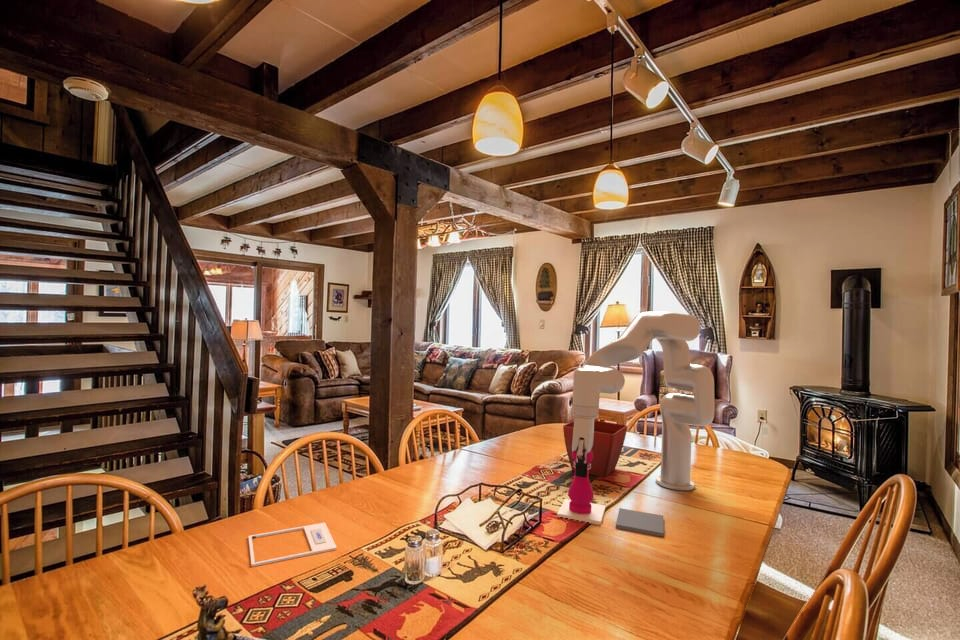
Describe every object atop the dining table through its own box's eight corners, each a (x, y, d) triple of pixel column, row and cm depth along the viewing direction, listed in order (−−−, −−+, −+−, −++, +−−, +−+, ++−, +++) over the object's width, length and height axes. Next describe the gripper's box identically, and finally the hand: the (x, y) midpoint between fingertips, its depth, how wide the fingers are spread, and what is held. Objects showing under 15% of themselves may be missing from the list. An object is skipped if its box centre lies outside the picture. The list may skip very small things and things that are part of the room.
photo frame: (336, 546, 109) (251, 563, 101) (336, 551, 109) (251, 568, 101) (324, 521, 122) (248, 535, 113) (324, 526, 122) (248, 539, 113)
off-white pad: (565, 501, 143) (565, 498, 143) (605, 509, 138) (605, 505, 138) (557, 517, 132) (557, 513, 132) (600, 525, 127) (600, 521, 127)
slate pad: (619, 511, 137) (619, 508, 137) (663, 519, 133) (663, 515, 133) (615, 527, 126) (615, 524, 126) (663, 536, 121) (663, 533, 121)
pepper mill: (593, 516, 130) (596, 444, 131) (567, 512, 132) (570, 441, 132) (592, 506, 137) (595, 438, 138) (567, 503, 139) (570, 436, 139)
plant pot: (626, 468, 178) (628, 424, 178) (611, 482, 162) (613, 434, 162) (578, 459, 188) (580, 417, 188) (560, 471, 172) (562, 425, 172)
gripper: (577, 405, 144) (574, 463, 144) (566, 414, 128) (564, 480, 128) (602, 407, 142) (599, 467, 142) (594, 417, 126) (592, 484, 125)
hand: (582, 472), depth 135 cm, fingers open, 5 cm apart
